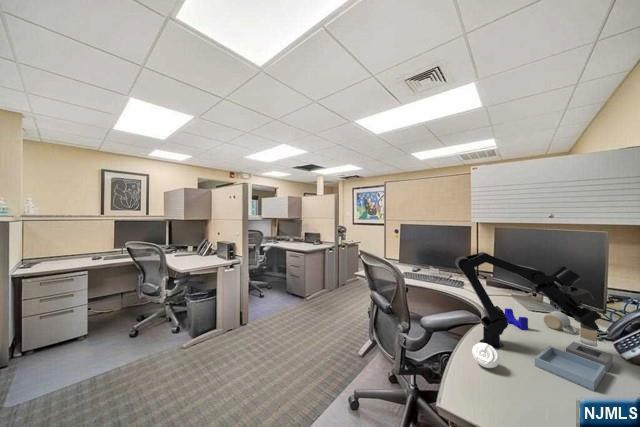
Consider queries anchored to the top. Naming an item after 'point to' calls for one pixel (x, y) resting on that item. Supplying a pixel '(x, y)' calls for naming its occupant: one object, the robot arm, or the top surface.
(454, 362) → the top surface
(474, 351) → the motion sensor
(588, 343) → the fuse
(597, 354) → the fuse holder
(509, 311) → the blue angular block
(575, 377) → the parts tray
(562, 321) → the ceramic mug
